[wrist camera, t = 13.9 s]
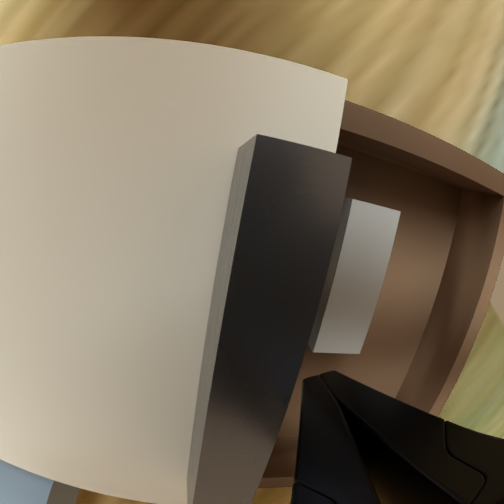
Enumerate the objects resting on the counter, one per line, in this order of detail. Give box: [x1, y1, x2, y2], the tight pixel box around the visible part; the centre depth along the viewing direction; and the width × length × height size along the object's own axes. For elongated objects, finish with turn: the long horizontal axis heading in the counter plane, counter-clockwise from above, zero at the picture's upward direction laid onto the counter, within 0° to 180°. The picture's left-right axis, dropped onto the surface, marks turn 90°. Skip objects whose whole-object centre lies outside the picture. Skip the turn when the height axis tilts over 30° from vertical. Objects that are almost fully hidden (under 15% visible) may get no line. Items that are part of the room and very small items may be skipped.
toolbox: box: [258, 100, 504, 488], centre depth 10 cm, size 14×16×4 cm
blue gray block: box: [0, 459, 79, 504], centre depth 10 cm, size 4×4×6 cm
